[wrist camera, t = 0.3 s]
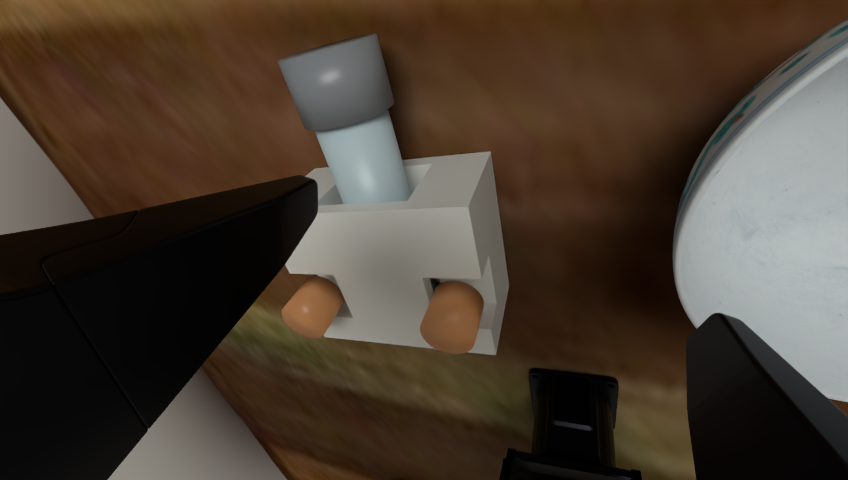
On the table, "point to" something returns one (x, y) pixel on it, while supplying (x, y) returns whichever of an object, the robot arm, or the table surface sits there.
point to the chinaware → (777, 215)
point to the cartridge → (350, 117)
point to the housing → (410, 250)
